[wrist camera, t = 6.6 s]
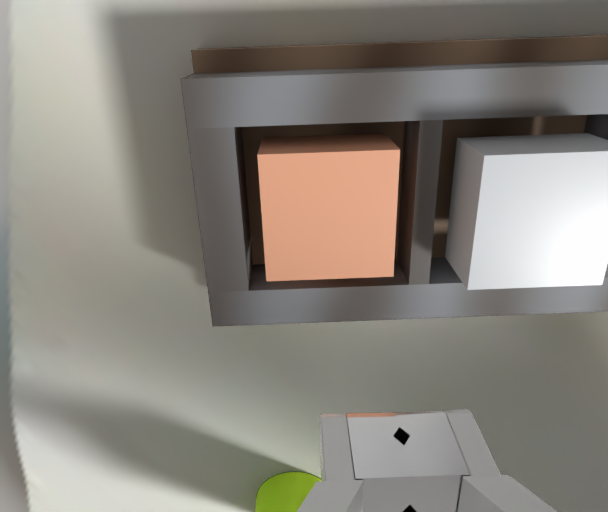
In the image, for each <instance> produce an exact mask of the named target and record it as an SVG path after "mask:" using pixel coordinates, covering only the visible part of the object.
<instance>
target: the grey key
mask: <svg viewBox="0 0 608 512" xmlns="http://www.w3.org/2000/svg"><path fill="white" fill-rule="evenodd" d="M445 257H446V259H447V260H448V262H449V263H450V265H451V266H452V268H453V269H454V271H455V272H456V274H457V275H458V277H459V278H460V280H461V281H462V283H463V284H464V286H465V287H466V288H467V290H479V289H506V288H532V287H559V286H586V285H602V283H603V279H604V275H605V271H606V268H607V264H608V140H606V139H603V138H600V137H597V136H594V135H591V134H589V133H578V134H550V135H522V136H494V137H465V138H457V143H456V153H455V162H454V172H453V182H452V192H451V202H450V212H449V222H448V232H447V242H446V252H445Z"/></svg>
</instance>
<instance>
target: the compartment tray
mask: <svg viewBox="0 0 608 512" xmlns="http://www.w3.org/2000/svg"><path fill="white" fill-rule="evenodd" d="M191 52H192V60H193V69H194V74H192V75H189V76H187V77H185V78H183V79H181V86H182V93H183V101H184V109H185V117H186V124H187V132H188V140H189V147H190V155H191V163H192V170H193V178H194V186H195V194H196V201H197V209H198V217H199V224H200V232H201V240H202V248H203V255H204V263H205V271H206V278H207V286H208V294H209V302H210V309H211V317H212V325H213V326H235V325H262V324H288V323H314V322H341V321H367V320H393V319H420V318H446V317H472V316H499V315H525V314H551V313H578V312H604V311H608V264H607V268H606V271H605V275H604V279H603V283H602V285H586V286H559V287H532V288H506V289H479V290H467V288H466V287H465V286H464V284H463V283H462V281H461V280H460V278H459V277H458V275H457V274H456V272H455V271H454V269H453V268H452V266H451V265H450V263H449V262H448V260H447V259H446V257H445V252H446V242H447V232H448V222H449V212H450V202H451V192H452V182H453V172H454V162H455V153H456V143H457V138H465V137H494V136H522V135H550V134H578V133H589V134H591V135H594V136H597V137H600V138H603V139H606V140H608V35H591V36H561V37H532V38H503V39H473V40H444V41H415V42H385V43H356V44H327V45H297V46H268V47H239V48H209V49H196V50H191ZM363 134H386V135H387V136H388V137H389V138H390V139H391V140H392V141H393V142H394V143H395V145H396V146H397V147H398V148H399V149H400V162H399V181H398V201H397V220H396V239H395V258H394V277H371V278H344V279H317V280H290V281H266V269H265V255H264V241H263V227H262V213H261V199H260V185H259V171H258V157H257V154H258V151H259V147H260V144H261V140H262V138H278V137H307V136H335V135H363Z"/></svg>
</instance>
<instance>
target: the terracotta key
mask: <svg viewBox="0 0 608 512" xmlns="http://www.w3.org/2000/svg"><path fill="white" fill-rule="evenodd" d="M257 157H258V171H259V185H260V199H261V213H262V227H263V241H264V255H265V269H266V281H290V280H317V279H344V278H371V277H394V258H395V239H396V220H397V201H398V181H399V162H400V149H399V148H398V147H397V146H396V145H395V143H394V142H393V141H392V140H391V139H390V138H389V137H388V136H387V135H386V134H363V135H335V136H307V137H278V138H262V140H261V144H260V147H259V151H258V154H257Z"/></svg>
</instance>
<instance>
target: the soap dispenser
mask: <svg viewBox="0 0 608 512" xmlns="http://www.w3.org/2000/svg"><path fill="white" fill-rule="evenodd" d="M317 481H321V479H320V478H318V477H316V476H314V475H311V474H307V473H302V472H287V473H282V474H279V475H276V476H274V477H272V478H270V479H268V480H267V481H266V482H264V483H263V484H262V486H261V487H260V488H259V490H258V493H257V497H256V508H255V512H297V510H298V509H299V507H300V506H301V504H302V503H303V501H304V500H305V498H306V497H307V495H308V494H309V492H310V491H311V489H312V488H313V486H314V485H315V483H316V482H317Z"/></svg>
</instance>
